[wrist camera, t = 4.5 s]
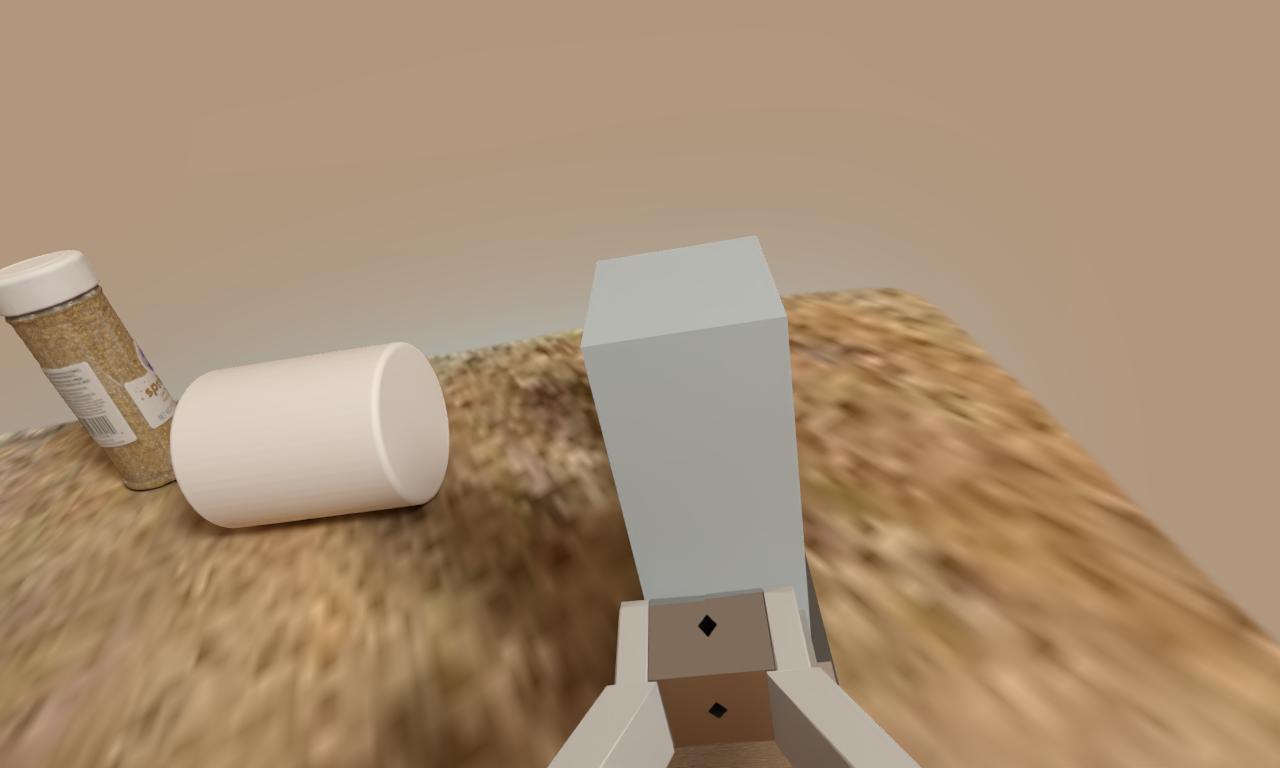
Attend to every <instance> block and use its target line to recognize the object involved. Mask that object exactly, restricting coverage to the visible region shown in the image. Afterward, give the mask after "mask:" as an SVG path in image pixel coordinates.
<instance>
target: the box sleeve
mask: <svg viewBox="0 0 1280 768" xmlns="http://www.w3.org/2000/svg"><path fill="white" fill-rule="evenodd" d="M581 351H582V355H583V359H584V363H585V367H586V371H587V375H588V379H589V383H590V387H591V391H592V394H593V398H594V402H595V406H596V410H597V414H598V418H599V422H600V426H601V430H602V434H603V438H604V442H605V446H606V450H607V454H608V457H609V461H610V465H611V469H612V473H613V477H614V481H615V485H616V489H617V493H618V497H619V501H620V505H621V509H622V513H623V517H624V521H625V524H626V528H627V532H628V536H629V540H630V544H631V548H632V552H633V556H634V560H635V564H636V568H637V572H638V576H639V580H640V584H641V587H642V591H643V595H644V599H645V600H650V599H660V598H673V597H687V596H700V595H706V594H711V593H720V592H729V591H738V590H747V589H755V588H762V590H763V588H769V587H778V586H788V585H791V586H792V587H793V589H794V592H795V596H796V601H797V606H798V610H799V611H800V610H805V613H806V618H807V622H808V626H809V630H810V617H809V603H808V590H807V577H806V563H805V550H804V537H803V523H802V510H801V496H800V483H799V470H798V456H797V443H796V430H795V416H794V403H793V390H792V376H791V363H790V350H789V336H788V323H787V315H786V312H785V310H784V307H783V304H782V302H781V299H780V296H779V294H778V291H777V288H776V286H775V283H774V281H773V278H772V276H771V273H770V270H769V267H768V265H767V262H766V259H765V257H764V254H763V251H762V249H761V246H760V243H759V241H758V238H757V236H756V235H755V236H749V237H743V238H737V239H730V240H724V241H719V242H712V243H706V244H700V245H694V246H688V247H682V248H675V249H669V250H664V251H657V252H652V253H646V254H639V255H633V256H627V257H621V258H615V259H609V260H602V261H597V265H596V270H595V275H594V280H593V285H592V291H591V296H590V301H589V306H588V312H587V316H586V322H585V327H584V332H583V337H582V342H581ZM810 635H811V630H810Z"/></svg>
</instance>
